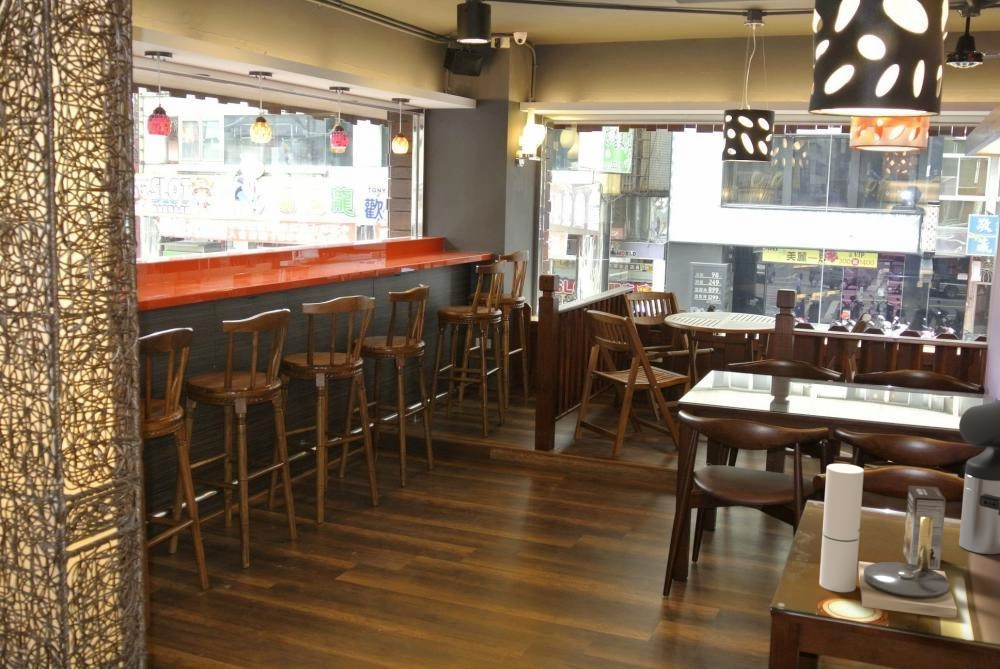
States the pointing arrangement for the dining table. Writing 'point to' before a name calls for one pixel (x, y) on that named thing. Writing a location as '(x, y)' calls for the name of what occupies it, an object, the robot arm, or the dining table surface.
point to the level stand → (906, 599)
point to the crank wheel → (910, 571)
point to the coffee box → (918, 505)
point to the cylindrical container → (841, 527)
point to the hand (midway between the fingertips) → (981, 499)
